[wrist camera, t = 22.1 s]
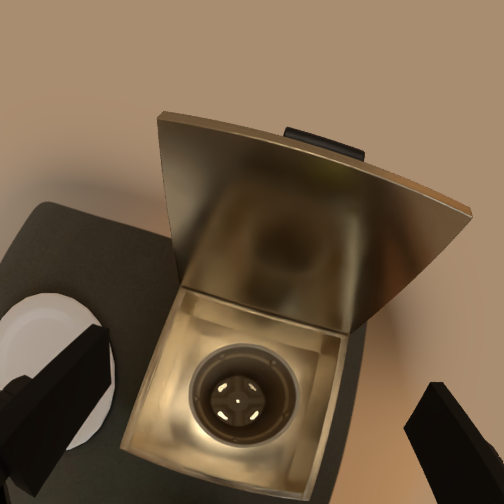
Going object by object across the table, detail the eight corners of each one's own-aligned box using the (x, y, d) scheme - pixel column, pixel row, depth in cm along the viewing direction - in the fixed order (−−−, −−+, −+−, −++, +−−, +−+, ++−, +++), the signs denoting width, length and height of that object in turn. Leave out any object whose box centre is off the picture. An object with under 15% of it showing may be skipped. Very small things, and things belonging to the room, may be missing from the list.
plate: (-23, 396, 24) (-30, 394, 23) (28, 276, 35) (22, 271, 34) (89, 480, 23) (84, 482, 22) (144, 332, 34) (141, 328, 33)
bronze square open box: (290, 485, 26) (309, 501, 20) (139, 442, 27) (119, 448, 21) (324, 350, 36) (349, 332, 29) (187, 310, 36) (181, 283, 30)
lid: (473, 217, 13) (457, 166, 16) (156, 117, 14) (192, 82, 16) (350, 334, 28) (355, 294, 31) (179, 284, 29) (196, 247, 32)
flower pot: (213, 349, 33) (212, 327, 26) (290, 375, 33) (312, 361, 25) (183, 422, 29) (172, 424, 21) (264, 450, 28) (280, 460, 20)
